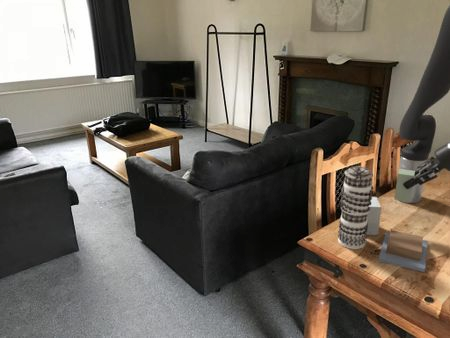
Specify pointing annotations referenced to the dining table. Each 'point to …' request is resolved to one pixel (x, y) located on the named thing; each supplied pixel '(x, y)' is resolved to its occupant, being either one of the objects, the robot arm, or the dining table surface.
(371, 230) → the small box
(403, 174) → the sage block
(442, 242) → the dining table surface
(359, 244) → the decorative candle
